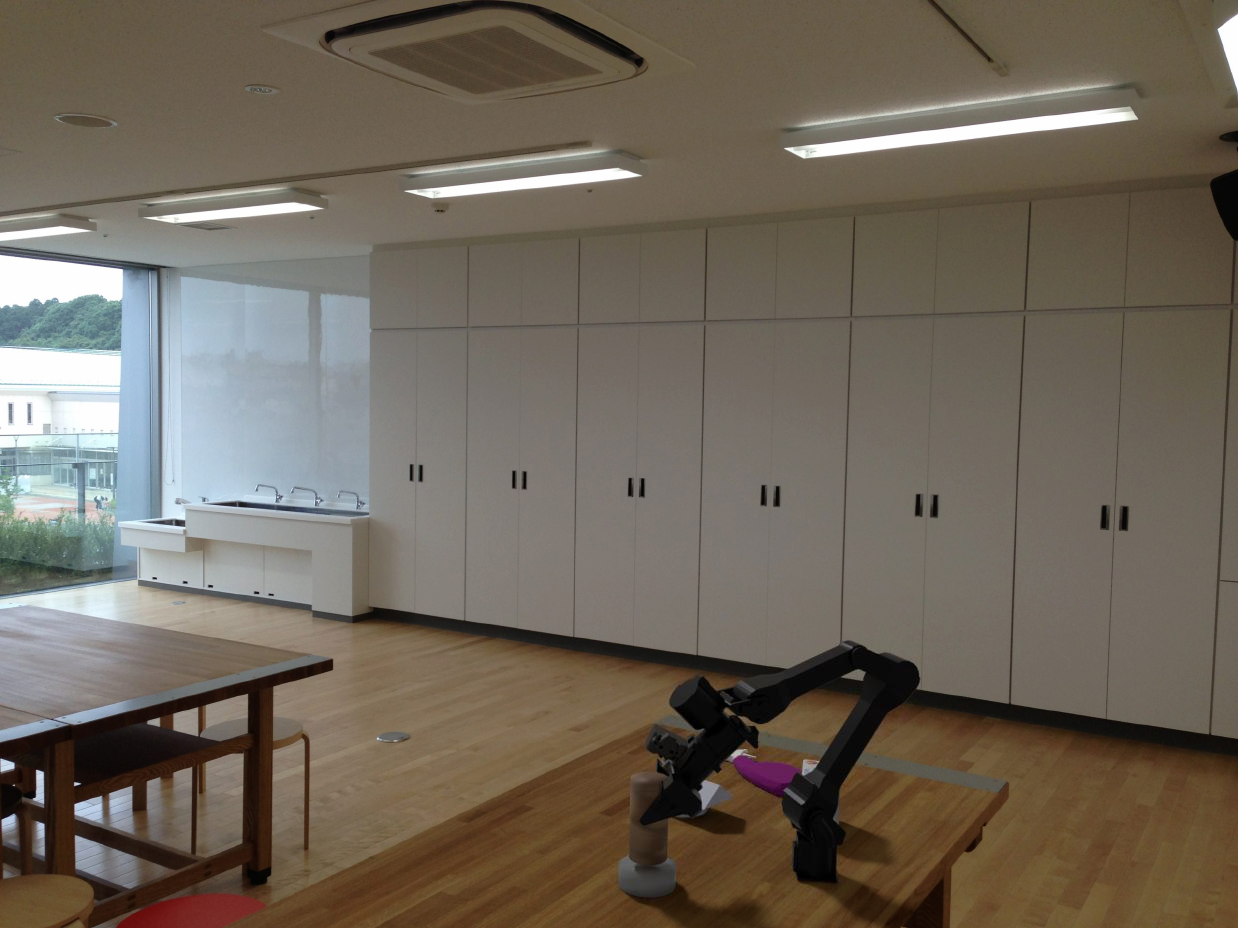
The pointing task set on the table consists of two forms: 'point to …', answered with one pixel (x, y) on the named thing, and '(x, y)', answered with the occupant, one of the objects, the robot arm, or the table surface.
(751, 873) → the table surface
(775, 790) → the spray bottle
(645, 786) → the walnut cylinder
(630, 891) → the slate pedestal
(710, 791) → the wedge on round base
